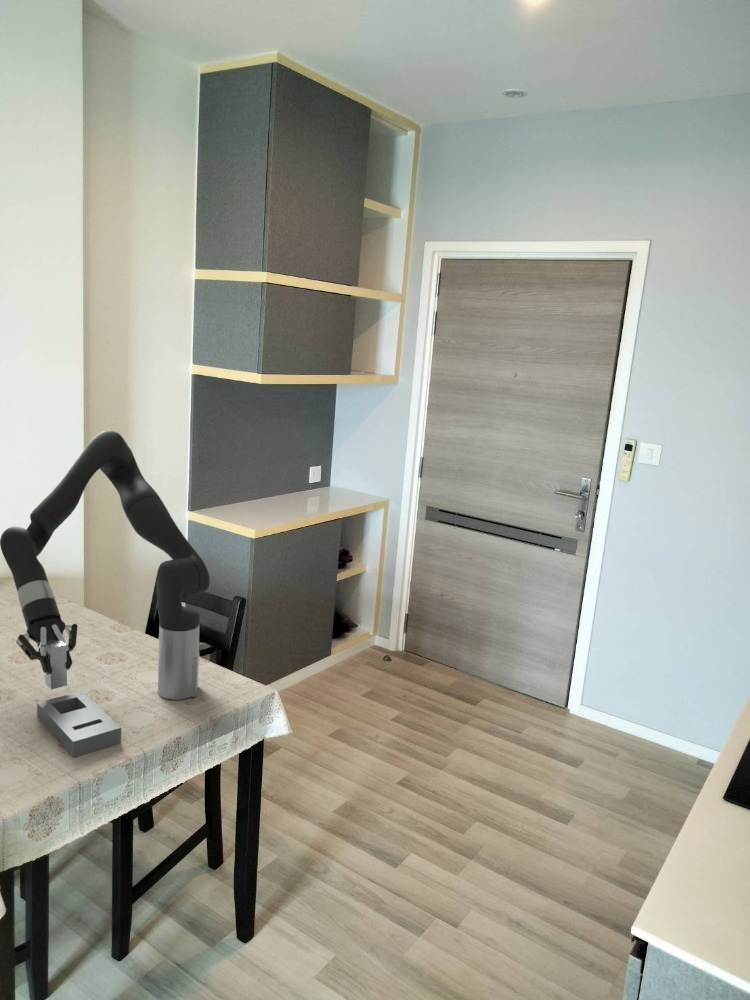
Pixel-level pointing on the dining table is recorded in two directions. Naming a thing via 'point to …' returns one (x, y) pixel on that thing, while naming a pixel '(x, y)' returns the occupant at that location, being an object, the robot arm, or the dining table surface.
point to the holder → (78, 723)
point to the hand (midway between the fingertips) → (58, 670)
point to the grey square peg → (56, 664)
